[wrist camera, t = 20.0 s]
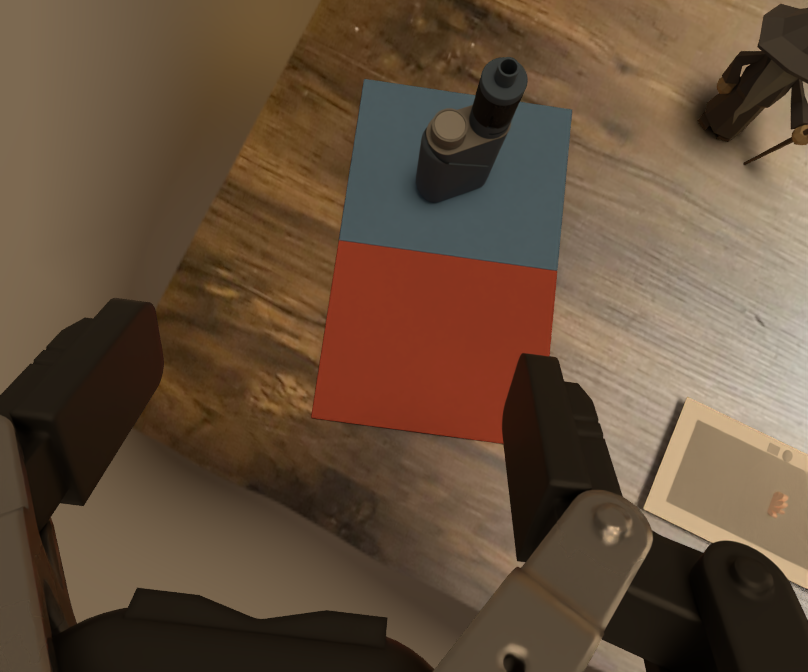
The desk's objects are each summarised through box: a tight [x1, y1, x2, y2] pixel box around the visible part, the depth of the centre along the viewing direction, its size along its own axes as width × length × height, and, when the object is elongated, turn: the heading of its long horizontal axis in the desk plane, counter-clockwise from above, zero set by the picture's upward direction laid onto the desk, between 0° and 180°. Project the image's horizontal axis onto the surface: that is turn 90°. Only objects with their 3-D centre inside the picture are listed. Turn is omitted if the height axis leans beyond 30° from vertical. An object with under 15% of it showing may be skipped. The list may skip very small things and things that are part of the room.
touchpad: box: [643, 397, 808, 589], centre depth 36 cm, size 8×15×2 cm, turn 64°
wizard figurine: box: [698, 4, 808, 165], centre depth 35 cm, size 8×6×12 cm
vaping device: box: [416, 57, 528, 203], centre depth 33 cm, size 3×5×12 cm, turn 111°
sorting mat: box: [311, 79, 572, 444], centre depth 38 cm, size 15×24×1 cm, turn 172°
